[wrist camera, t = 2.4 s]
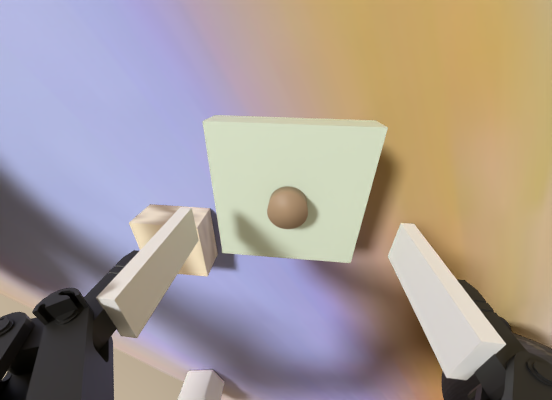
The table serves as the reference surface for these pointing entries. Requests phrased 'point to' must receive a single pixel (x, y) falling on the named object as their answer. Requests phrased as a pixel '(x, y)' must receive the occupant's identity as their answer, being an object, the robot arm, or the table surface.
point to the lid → (291, 183)
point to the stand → (206, 246)
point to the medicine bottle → (202, 386)
